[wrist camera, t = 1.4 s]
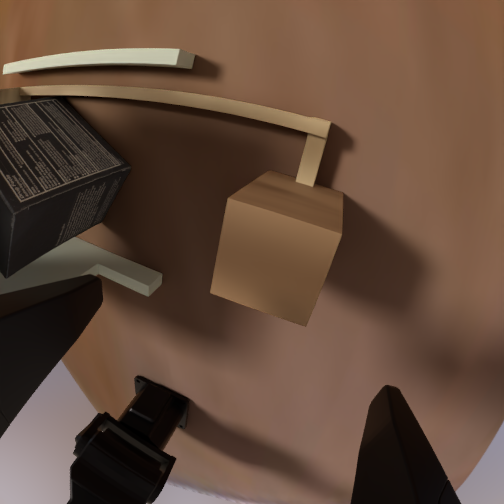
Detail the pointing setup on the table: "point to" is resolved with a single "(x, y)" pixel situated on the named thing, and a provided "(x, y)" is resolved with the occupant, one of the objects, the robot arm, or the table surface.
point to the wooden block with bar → (257, 210)
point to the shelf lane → (76, 250)
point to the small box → (51, 179)
